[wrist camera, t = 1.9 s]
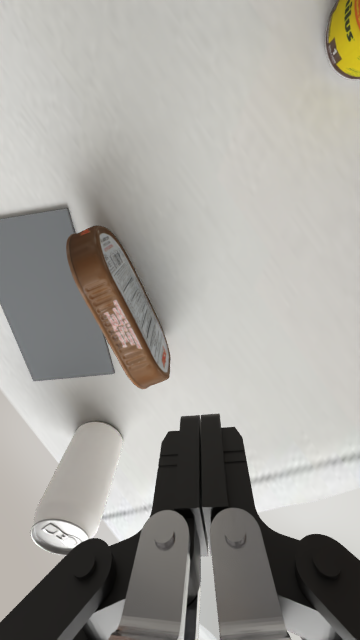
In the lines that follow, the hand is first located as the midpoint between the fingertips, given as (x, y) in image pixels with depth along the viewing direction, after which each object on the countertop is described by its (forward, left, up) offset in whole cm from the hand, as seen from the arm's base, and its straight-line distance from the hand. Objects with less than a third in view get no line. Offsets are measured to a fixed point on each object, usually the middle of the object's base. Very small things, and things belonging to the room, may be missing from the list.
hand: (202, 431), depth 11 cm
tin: (0, -6, -19) cm, 20 cm away
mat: (0, -16, -19) cm, 25 cm away
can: (+19, -15, -19) cm, 31 cm away
